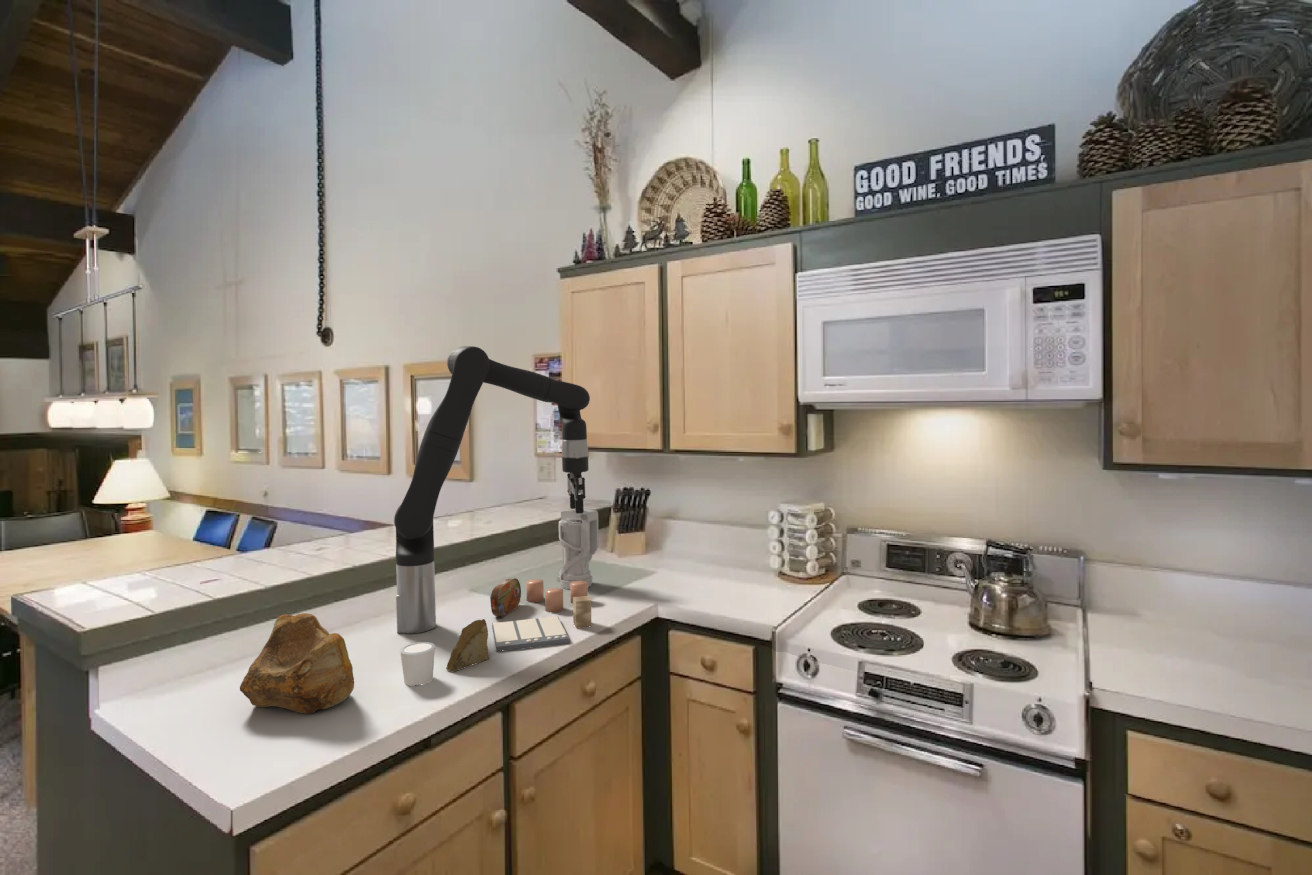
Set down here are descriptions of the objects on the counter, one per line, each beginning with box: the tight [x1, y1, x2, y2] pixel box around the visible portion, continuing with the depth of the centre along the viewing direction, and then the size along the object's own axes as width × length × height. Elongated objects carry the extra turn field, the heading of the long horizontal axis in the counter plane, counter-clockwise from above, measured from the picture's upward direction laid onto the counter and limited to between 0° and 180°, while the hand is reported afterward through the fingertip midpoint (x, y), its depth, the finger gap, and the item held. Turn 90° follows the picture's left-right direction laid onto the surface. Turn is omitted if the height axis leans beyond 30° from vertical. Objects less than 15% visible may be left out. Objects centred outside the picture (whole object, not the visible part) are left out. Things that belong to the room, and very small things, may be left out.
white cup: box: [399, 641, 436, 687], centre depth 134 cm, size 7×7×7 cm
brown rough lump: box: [239, 612, 355, 715], centre depth 124 cm, size 23×17×15 cm
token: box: [572, 595, 592, 629], centre depth 166 cm, size 4×4×7 cm
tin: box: [490, 577, 522, 618], centre depth 178 cm, size 15×3×8 cm, turn 168°
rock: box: [445, 618, 489, 673], centre depth 142 cm, size 11×9×10 cm
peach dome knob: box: [544, 587, 564, 613], centre depth 179 cm, size 5×5×6 cm
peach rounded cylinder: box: [525, 578, 545, 603], centre depth 188 cm, size 5×5×6 cm
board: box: [491, 615, 570, 652], centre depth 159 cm, size 17×17×1 cm
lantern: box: [556, 507, 600, 590], centre depth 202 cm, size 13×10×25 cm
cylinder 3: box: [569, 581, 589, 604], centre depth 186 cm, size 5×5×6 cm
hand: (576, 510), depth 185 cm, fingers open, 8 cm apart
